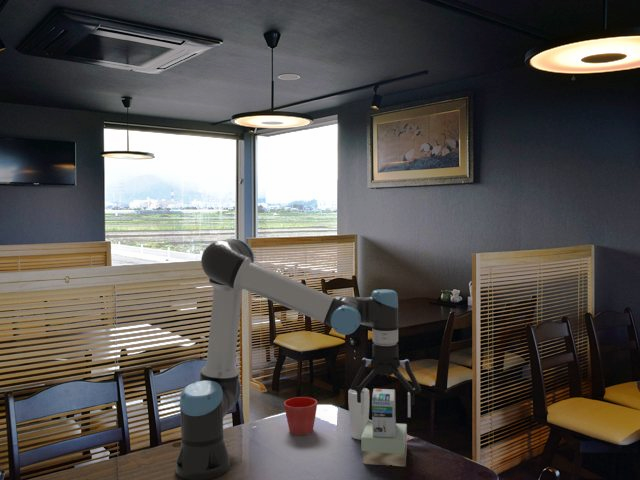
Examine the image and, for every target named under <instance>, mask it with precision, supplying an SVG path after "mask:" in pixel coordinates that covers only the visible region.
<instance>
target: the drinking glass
mask: <svg viewBox="0 0 640 480" xmlns="http://www.w3.org/2000/svg"><path fill="white" fill-rule="evenodd" d="M363 390H364V415H361V403H358V402H357V392H356V391H355V390H351V388H350V389H348V395H347V396H348V397H347V398H348V402H347V403H348V411H349V423H350V436H351V438H353V439H355V440H361V437H362V434H363V431H364V429H365V426H366V423H367V421H369V418H370V417H369V416H370V390H369V389H368V388H366V387H364V389H363Z"/></svg>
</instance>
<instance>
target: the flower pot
mask: <svg viewBox="0 0 640 480" xmlns="http://www.w3.org/2000/svg"><path fill="white" fill-rule="evenodd" d="M283 406H284V411H285V412H284V413H285V415H286V416H285V417H286V420H287V421H286V422H287V426H288V430H289V433H291V434H292V435H297V436H305V435H309V434H311V433H312V432H313V431H314V426H315V420H316V415H317V407H318V400H317V399H315V398H312V397H308V396H297V397H291V398H289V399H286V400H284V403H283Z"/></svg>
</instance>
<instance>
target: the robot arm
mask: <svg viewBox="0 0 640 480" xmlns="http://www.w3.org/2000/svg"><path fill="white" fill-rule="evenodd" d="M254 262H255V255H254V251H253V249H252V248H251V246H250V245H249V244H248V243H247V242H245V241H244V240H241V239H238V238H237V239H236V238H226V239H224V240H217V241H214V242H212V243H210V244H209V245H207V247H205V248H204V250H203V252H202V255H201V262H200V263H201V268H202V270H203V272H204V273H205V274H206V277H208V278H209V284H210V286H212V287H213V293H212V304H211V312H210V313H211V315H210V322H209V323H210V324H209V333H208V345H207V355H206V356H207V357H206V363H205V365H204V366H203V367H201V369H200V377H199V381H195V382H194V383H190V384H189V385H186V386H185V387H184V388H182V391H181V392H180V395H179V397H180V398H179V409H180V410H179V413H180V435H181V443H180V444H181V445H180V448H179V452H178V454H177V458H176V460H175V461H176V462H175V473H176V475H177V476H178V477H179V478H181V479H184V480H212V479H215V478H217V477H220V476H223V475H224V474H226V473H227V472H228V471H229V469H230V467H231V455H230V453H229V451H228V448H227V445H226V441H225V440H224V418H225V416H227V414H228V413H229V412H230V411H231V410H232V409H233V408H234V407H235V406H236V405H237V403H238V401H239V399H240V396H241V393H242V386H241V381H240V380H239V377H240V372H239V369H238V368H237V367H236V366H235V365H236V355H237V348H238V347H237V346H238V339H239V338H238V336H239V329H240V328H239V327H240V316H241V315H240V314H241V305H242V298H243V297H242V295H243V290H245V291H248V292H251V293H252V294H255V295H258V296H259V297H262V298H264V299H267V300H269V301H271V302H273V303H276V304H278V305H281V306H283V307H286V308H288V309H290V310H293V311H295V312H297V313H299V314H302V315H304V316H306V317H309V318H311V319H314V320H315V321H319V322H320V323H323V324H325V325H327V326H329V327H331V328H332V329H333V330H334V331H335V332H336V333H337V334H339V335H343V336H348V335H351V334H353V333H354V332H356V330H357V329H358V328H359V327H360V325H361V323H362V324H363V323H364V324H370V323H372V327H371V329H372V331H371V333H372V334H371V335H372V342H373V343H372V349H371V350H372V358H371V359H369V358H366V357H363V358H362V359H361V365H360V368H359V370H358V372H357V373H356V376H355V377H354V380H353V382H352V384H351V385H350V389H351V390H355V391H356V392H357V402H358V403H361V415H364V390H363V389H364V388H366V386H367V385H368V384H369V383H370V382H371V381H372V380H373V378H374V377H376V375H380V376H385V375H386V376H392V375H394V377H395V378H396V379H397V380H398V381H399V382H400V384H401V385H403V387H404V388H405V389H406V391H408V392H407V418H412V417H411V412H412V411H411V410H412V409H411V407H412V406H414V405H415V403H416V402H415V398H416V397H415V396H416V394H421V391H422V389H421V388H422V387H421V385H420V384H419V382H418V380H417V378H416V376H415V374H414V372H413V370H412V368H411V366H410V359H408V358H405V359H404V360H401V359H399V344H398V342H399V297H398V293H397V292H396V291H395V290H394V289H387V288H386V289H375V290H374V289H373V291H372V292H371V296H366V297H365V296H345V295H342V296H331V295H329V294H327V293H325V292H322V291H320V290H317V289H315V288H313V287H310V286H309V285H306V284H304V283H301V282H299V281H296V280H294V279H292V278H289V277H286V276H284V275H282V274H280V273H277V272H275V271H273V270H270V269H268V268H266V267H265V266H264V267H263V266H261V265H258V264H256V263H254ZM369 365H371V366H372V368H373V369H372V370H371V372H369V374H368V375H367V376H366V377H365V378H364V379H363V381H362V382H361V383H360V384H359V385H358V383H359V381H360V379H361V377H362V375H363V373H364V371H365V369H366V367H369ZM400 366H402V368H404V369H405V371H406V374H407V375H408V377H409V379H410V381H411V383H412V385H413V386H412V385H411V384H410V383H409V381H408V380H407V379H406V378H405V376H404V375H403V374H402V373H401V372H400V370H399V369H398V368H399V367H400Z"/></svg>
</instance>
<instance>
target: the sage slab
mask: <svg viewBox="0 0 640 480" xmlns="http://www.w3.org/2000/svg"><path fill="white" fill-rule="evenodd" d="M407 429H408V425H407V423H397V422H396V434H395V438H394V437H373V429H372V421H370V420H368V421H367V423H366V426H365V429H364V431H363V434H362V437H361V441H360V442H361V447H360V450H361V451H362V452H363V451H369V452H380V453H392V454H404V450H405V445H406V439H408V433H407V432H408V430H407Z"/></svg>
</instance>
